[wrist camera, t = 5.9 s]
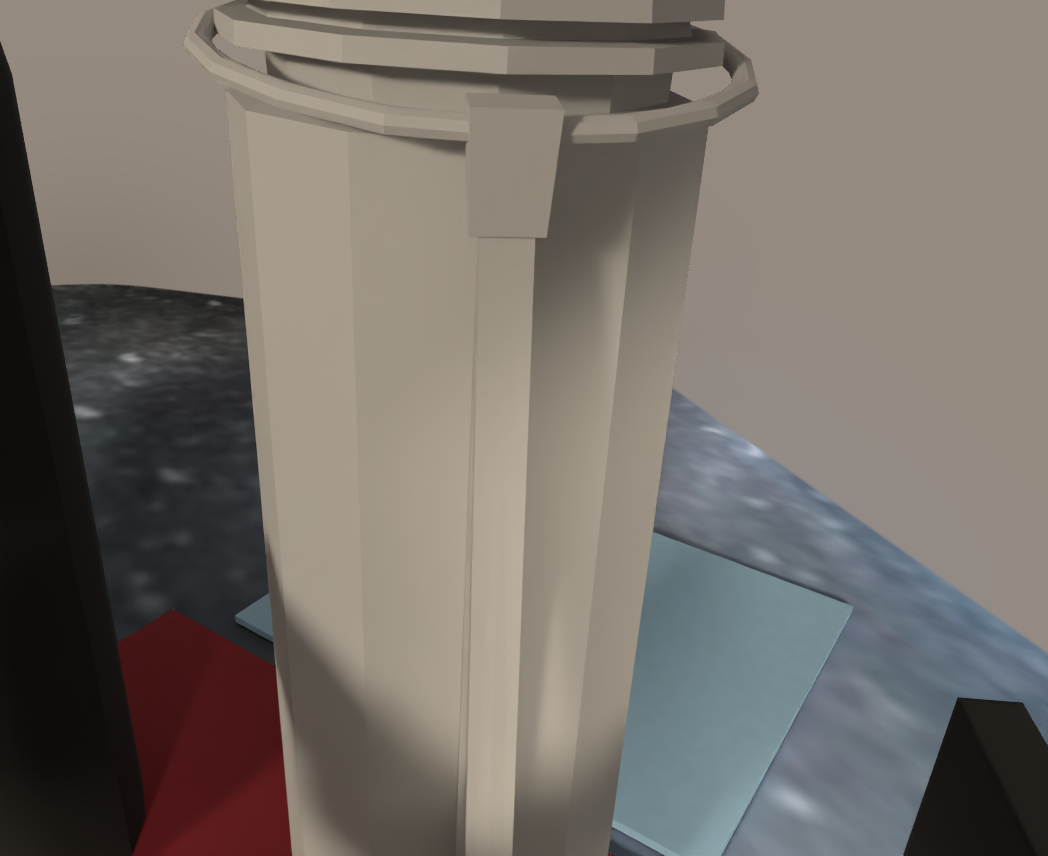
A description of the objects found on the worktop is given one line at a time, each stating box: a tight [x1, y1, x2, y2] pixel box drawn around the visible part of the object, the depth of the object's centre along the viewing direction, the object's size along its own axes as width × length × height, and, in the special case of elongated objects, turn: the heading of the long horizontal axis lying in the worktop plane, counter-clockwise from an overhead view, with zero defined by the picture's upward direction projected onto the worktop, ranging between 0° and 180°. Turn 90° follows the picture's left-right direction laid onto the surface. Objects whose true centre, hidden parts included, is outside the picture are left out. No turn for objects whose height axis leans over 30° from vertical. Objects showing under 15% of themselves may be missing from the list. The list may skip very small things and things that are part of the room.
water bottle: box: [184, 0, 759, 856], centre depth 16 cm, size 9×8×25 cm
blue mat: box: [235, 532, 853, 856], centre depth 34 cm, size 18×14×1 cm
